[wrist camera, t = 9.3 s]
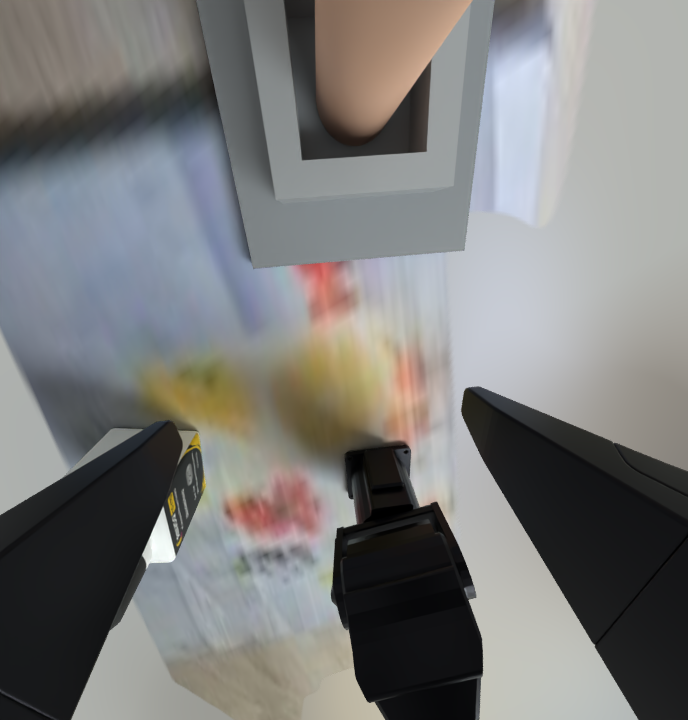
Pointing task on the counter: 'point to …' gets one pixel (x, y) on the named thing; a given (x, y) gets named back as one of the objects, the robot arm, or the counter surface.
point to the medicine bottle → (175, 508)
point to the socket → (333, 159)
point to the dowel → (374, 58)
